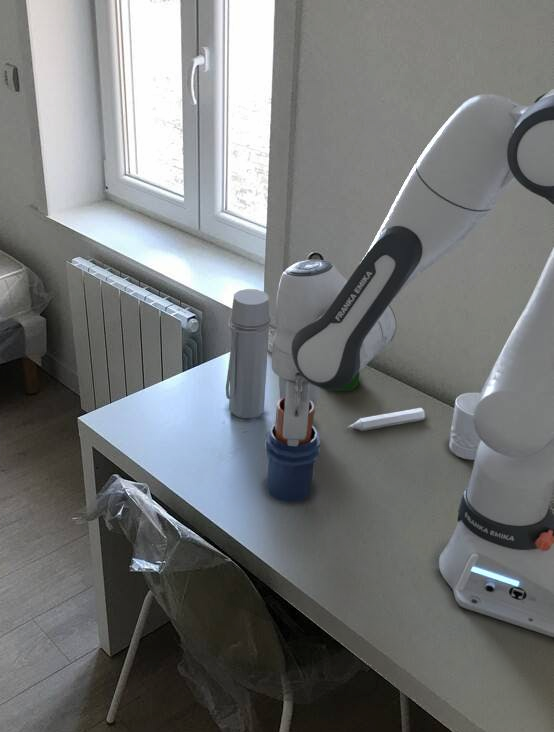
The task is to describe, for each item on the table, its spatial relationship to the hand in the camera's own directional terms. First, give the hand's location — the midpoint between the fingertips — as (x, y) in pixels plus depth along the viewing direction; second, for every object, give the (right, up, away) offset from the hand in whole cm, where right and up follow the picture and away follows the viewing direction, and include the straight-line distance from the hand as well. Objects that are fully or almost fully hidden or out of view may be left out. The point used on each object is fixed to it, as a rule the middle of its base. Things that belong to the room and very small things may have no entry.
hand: (293, 430), depth 142 cm
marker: (+21, +1, +22) cm, 31 cm away
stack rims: (0, -3, +2) cm, 4 cm away
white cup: (+35, -4, +15) cm, 38 cm away
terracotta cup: (0, -4, +3) cm, 5 cm away
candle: (+15, +10, +36) cm, 41 cm away
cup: (+4, +1, +22) cm, 23 cm away
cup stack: (0, -10, +7) cm, 12 cm away
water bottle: (-6, +3, +27) cm, 28 cm away
